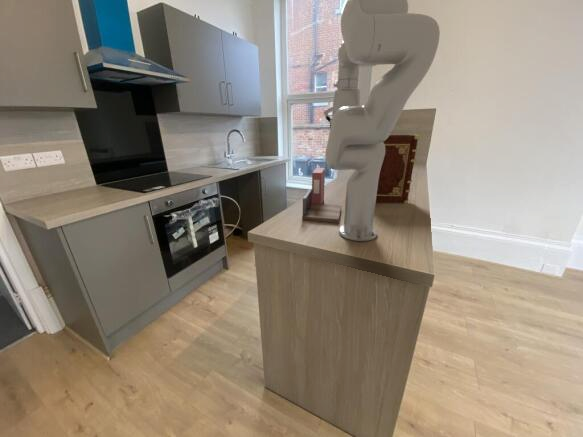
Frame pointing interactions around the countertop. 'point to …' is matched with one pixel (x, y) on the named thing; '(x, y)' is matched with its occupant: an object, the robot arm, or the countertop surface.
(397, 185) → the decorative book
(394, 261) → the countertop surface
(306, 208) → the bookend
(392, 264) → the countertop surface
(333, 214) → the shelf board
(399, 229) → the countertop surface
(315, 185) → the slim book
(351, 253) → the countertop surface
